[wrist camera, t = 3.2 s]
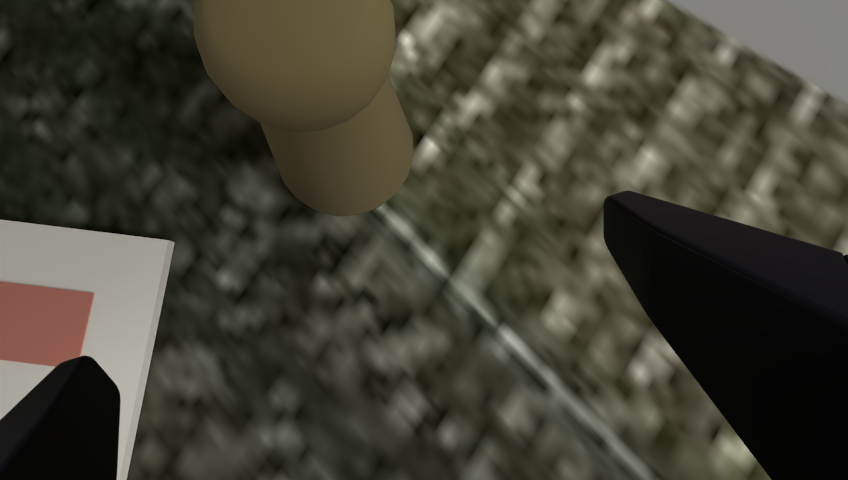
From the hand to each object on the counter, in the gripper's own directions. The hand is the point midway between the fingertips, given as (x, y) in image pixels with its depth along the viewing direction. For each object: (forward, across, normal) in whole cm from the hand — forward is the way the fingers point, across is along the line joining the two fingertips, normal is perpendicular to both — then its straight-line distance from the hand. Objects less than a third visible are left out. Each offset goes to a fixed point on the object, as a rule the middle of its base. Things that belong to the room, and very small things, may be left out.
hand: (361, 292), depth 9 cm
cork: (+15, 0, +4) cm, 15 cm away
